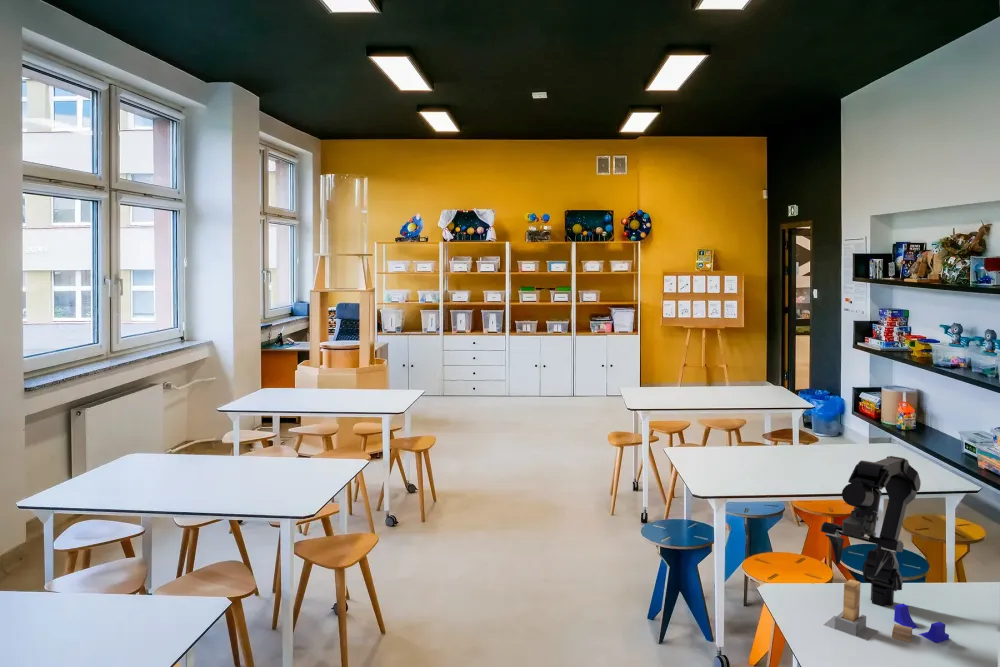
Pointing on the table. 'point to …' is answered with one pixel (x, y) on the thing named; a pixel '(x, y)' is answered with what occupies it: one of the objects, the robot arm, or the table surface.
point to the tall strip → (851, 600)
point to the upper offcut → (902, 633)
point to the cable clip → (905, 620)
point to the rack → (852, 626)
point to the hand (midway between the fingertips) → (855, 570)
